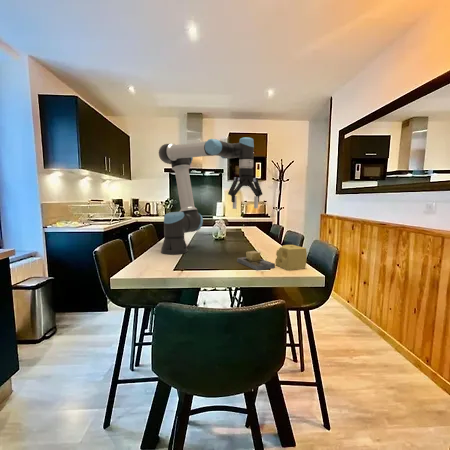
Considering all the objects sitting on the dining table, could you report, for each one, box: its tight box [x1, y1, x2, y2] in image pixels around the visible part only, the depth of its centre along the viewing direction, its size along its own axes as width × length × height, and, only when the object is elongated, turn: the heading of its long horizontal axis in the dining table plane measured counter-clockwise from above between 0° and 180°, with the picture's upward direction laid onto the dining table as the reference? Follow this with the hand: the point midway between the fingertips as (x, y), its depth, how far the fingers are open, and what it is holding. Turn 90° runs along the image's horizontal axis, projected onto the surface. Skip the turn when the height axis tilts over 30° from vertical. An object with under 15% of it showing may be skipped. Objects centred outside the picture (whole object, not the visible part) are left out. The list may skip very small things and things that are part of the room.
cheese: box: [274, 244, 308, 271], centre depth 132 cm, size 10×11×10 cm
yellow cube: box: [245, 250, 261, 262], centre depth 137 cm, size 5×5×6 cm
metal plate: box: [236, 256, 276, 271], centre depth 136 cm, size 18×10×2 cm, turn 28°
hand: (245, 208), depth 149 cm, fingers open, 13 cm apart
